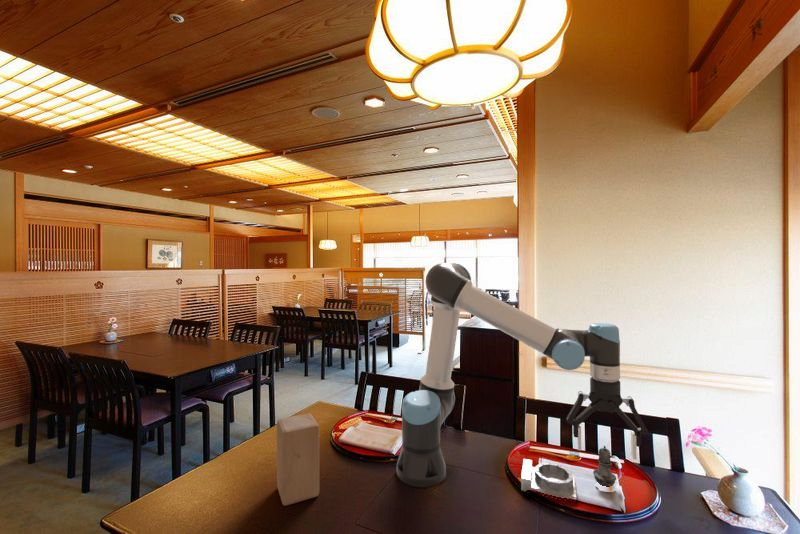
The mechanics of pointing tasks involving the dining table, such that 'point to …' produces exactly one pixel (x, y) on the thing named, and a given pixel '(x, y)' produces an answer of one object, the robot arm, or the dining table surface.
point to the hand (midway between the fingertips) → (606, 452)
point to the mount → (548, 479)
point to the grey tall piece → (604, 469)
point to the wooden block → (297, 458)
